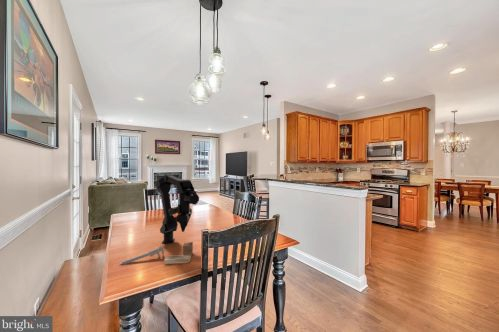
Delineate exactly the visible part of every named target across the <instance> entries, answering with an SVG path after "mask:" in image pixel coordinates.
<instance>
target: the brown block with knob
mask: <svg viewBox="0 0 499 332" xmlns="http://www.w3.org/2000/svg"><path fill="white" fill-rule="evenodd" d="M193 245H194V244H193V241H191V242H190V241H189V242H184V243H183V245H182V255H191V257H193V253H194V252H193V249H194V247H193Z"/></svg>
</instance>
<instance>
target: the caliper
mask: <svg viewBox="0 0 499 332" xmlns="http://www.w3.org/2000/svg"><path fill="white" fill-rule="evenodd" d="M160 252H161V253H160ZM156 254H157V256H158V258H161V254H162V257H164V256H165V249H164V247H163V246H162V245H160V246H159V245H158V247H156V248H154V249H152V250H149V251H147V252H146V253H142V254H140V255H136V256H135V257H132V258H131V257H130V258H129V259H125V260H123V261H121V262H120V263H119V264H118V266H121V265H127V264H130V263H133V262H135V261H138V260H141V259H143V258H147V257H153V256H155V255H156Z"/></svg>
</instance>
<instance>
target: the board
mask: <svg viewBox="0 0 499 332" xmlns="http://www.w3.org/2000/svg"><path fill="white" fill-rule="evenodd" d="M190 261H191V255H183V254H178V255H166V257H165V258H164V265H169V264H171V265H173V264H187V263H190Z"/></svg>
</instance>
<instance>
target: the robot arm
mask: <svg viewBox="0 0 499 332" xmlns="http://www.w3.org/2000/svg"><path fill="white" fill-rule="evenodd" d="M172 185H173V186H175V187H176V189H177V190H178V191H177V194H178V197H179V201H178V202H179V203H178V204H177V206H175V207H172V203H171V197H170V191H171V188H172V187H171V186H172ZM155 188H156V190H157V193H159V194H160V197H161V198H160V199H161V203H162V211H163V215H164V217H163V220H162V224H161V227H160V228H159V233H160V234H162V235H163V241H162V242H161V244H173V243H174V242H175V238H174V232H177V230H178V225H179V227H180V228H181V232H182V233H184V232H185V230H186V227H187V226H188V223H189V221H190V219H191V216H192V213H193V209H192V208H190V206H191V205H197V204H198V203H199V201H200V196H199V195H198V194H197V191H196V190H195V187H194V186H193V183H192V181H191V180H190V179H181V178H179V177H177V176H174V175H173V174H165V175H163V177H161V178H159V179H157V181H156V183H155ZM176 214H177V215H176ZM174 215H176V216H174Z"/></svg>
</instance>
